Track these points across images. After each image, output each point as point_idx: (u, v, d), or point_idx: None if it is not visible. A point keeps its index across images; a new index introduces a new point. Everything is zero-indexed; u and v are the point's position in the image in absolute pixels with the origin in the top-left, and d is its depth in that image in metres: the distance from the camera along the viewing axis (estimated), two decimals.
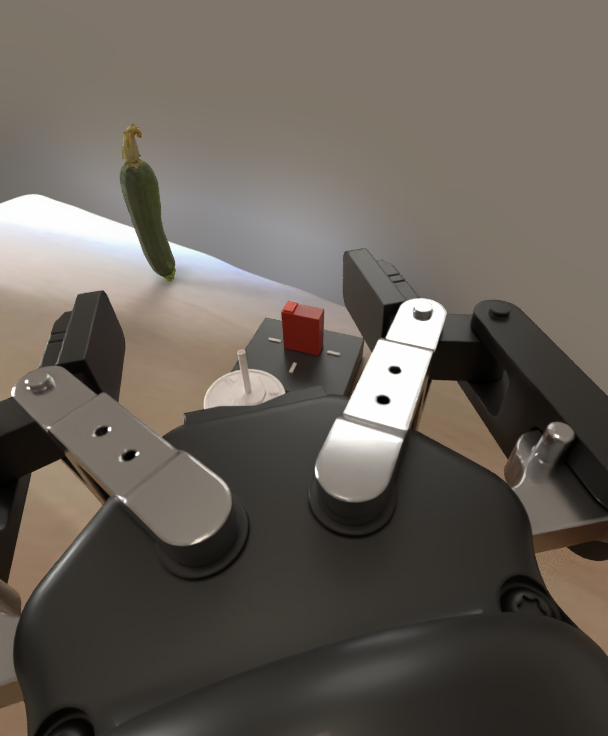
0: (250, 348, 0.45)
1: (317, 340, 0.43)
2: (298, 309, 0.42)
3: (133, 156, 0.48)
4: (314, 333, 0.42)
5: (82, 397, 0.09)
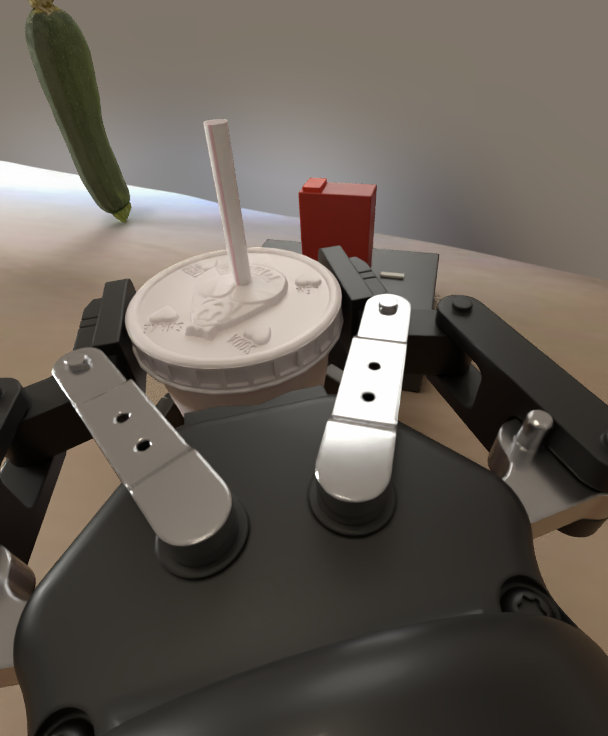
0: None
1: (366, 246, 0.23)
2: (328, 187, 0.23)
3: None
4: (361, 230, 0.23)
5: (113, 381, 0.09)
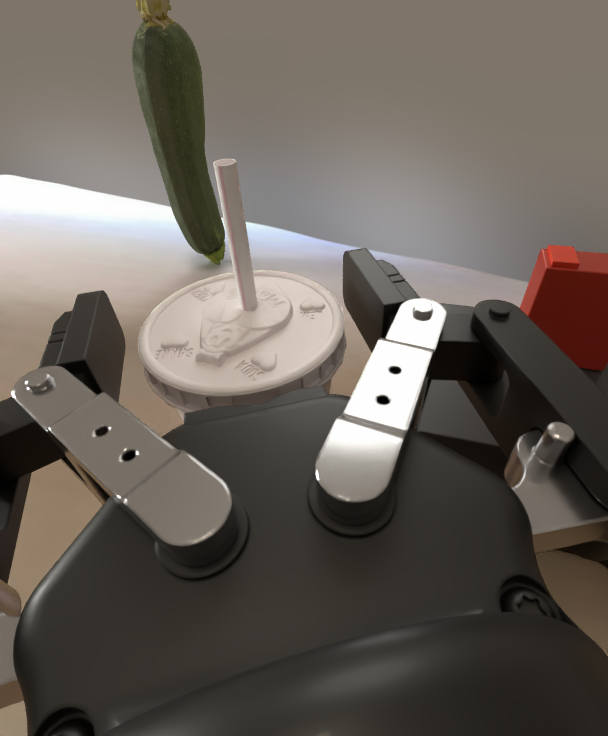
0: None
1: None
2: (582, 260, 0.17)
3: (159, 2, 0.24)
4: None
5: (82, 397, 0.09)
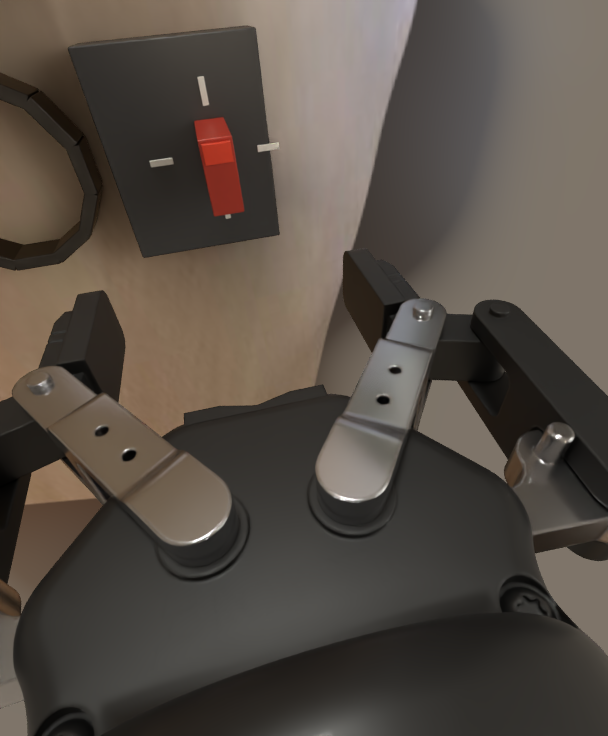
0: (158, 48, 0.22)
1: None
2: (220, 168, 0.22)
3: None
4: None
5: (82, 397, 0.09)
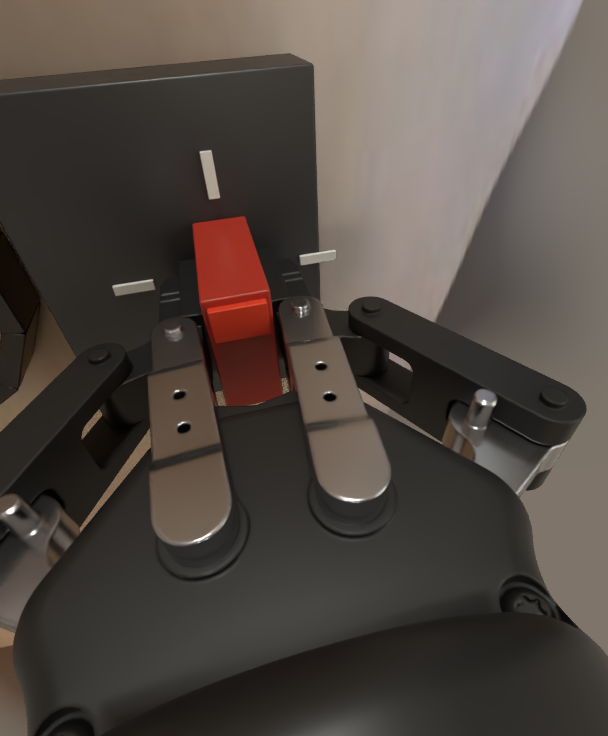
0: (123, 103, 0.11)
1: None
2: (245, 342, 0.11)
3: None
4: None
5: (192, 356, 0.10)
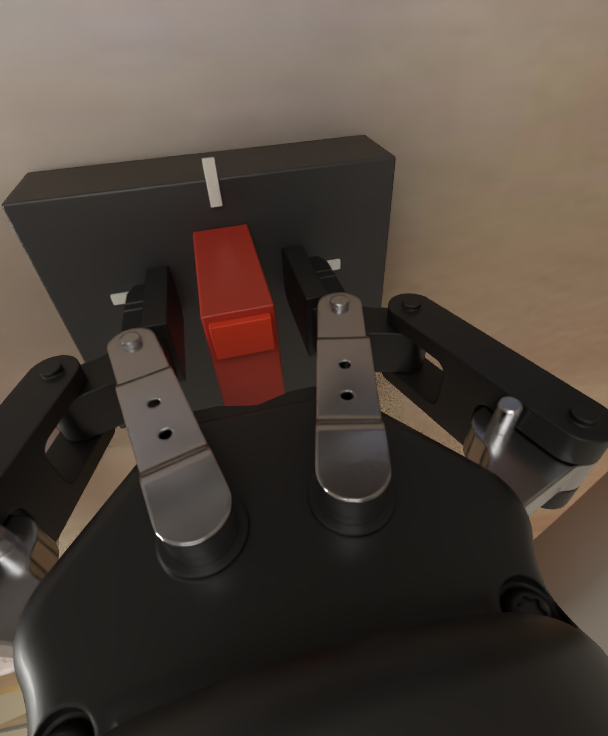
0: (91, 348, 0.15)
1: None
2: (247, 357, 0.11)
3: None
4: None
5: (157, 364, 0.10)
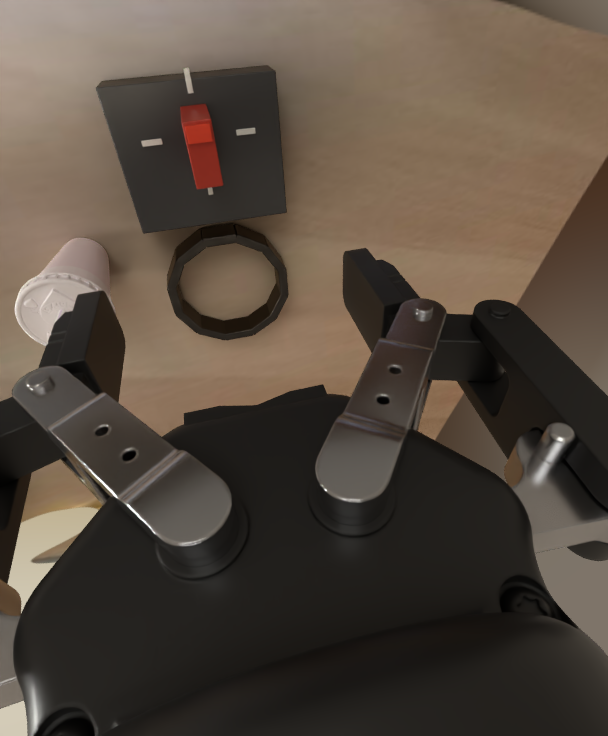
0: (130, 174, 0.31)
1: None
2: (202, 147, 0.26)
3: None
4: None
5: (82, 397, 0.09)
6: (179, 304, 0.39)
